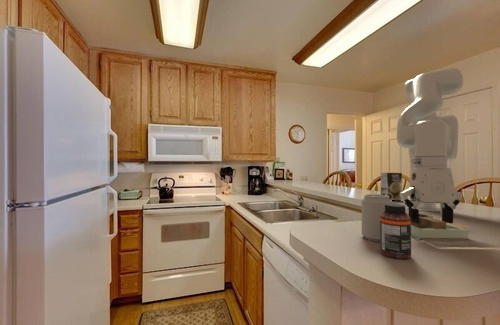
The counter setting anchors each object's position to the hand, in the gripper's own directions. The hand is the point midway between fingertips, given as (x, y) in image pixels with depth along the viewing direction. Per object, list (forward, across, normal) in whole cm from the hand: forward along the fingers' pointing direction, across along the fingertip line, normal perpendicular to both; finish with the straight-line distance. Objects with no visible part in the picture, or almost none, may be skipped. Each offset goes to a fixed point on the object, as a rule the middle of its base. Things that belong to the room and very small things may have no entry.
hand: (430, 222), depth 69 cm
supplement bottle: (+4, -20, -16) cm, 25 cm away
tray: (+4, 0, +4) cm, 5 cm away
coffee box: (+4, +28, +69) cm, 75 cm away
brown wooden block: (+3, 0, +3) cm, 4 cm away
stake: (+4, +14, +12) cm, 19 cm away
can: (+4, -18, -4) cm, 18 cm away
